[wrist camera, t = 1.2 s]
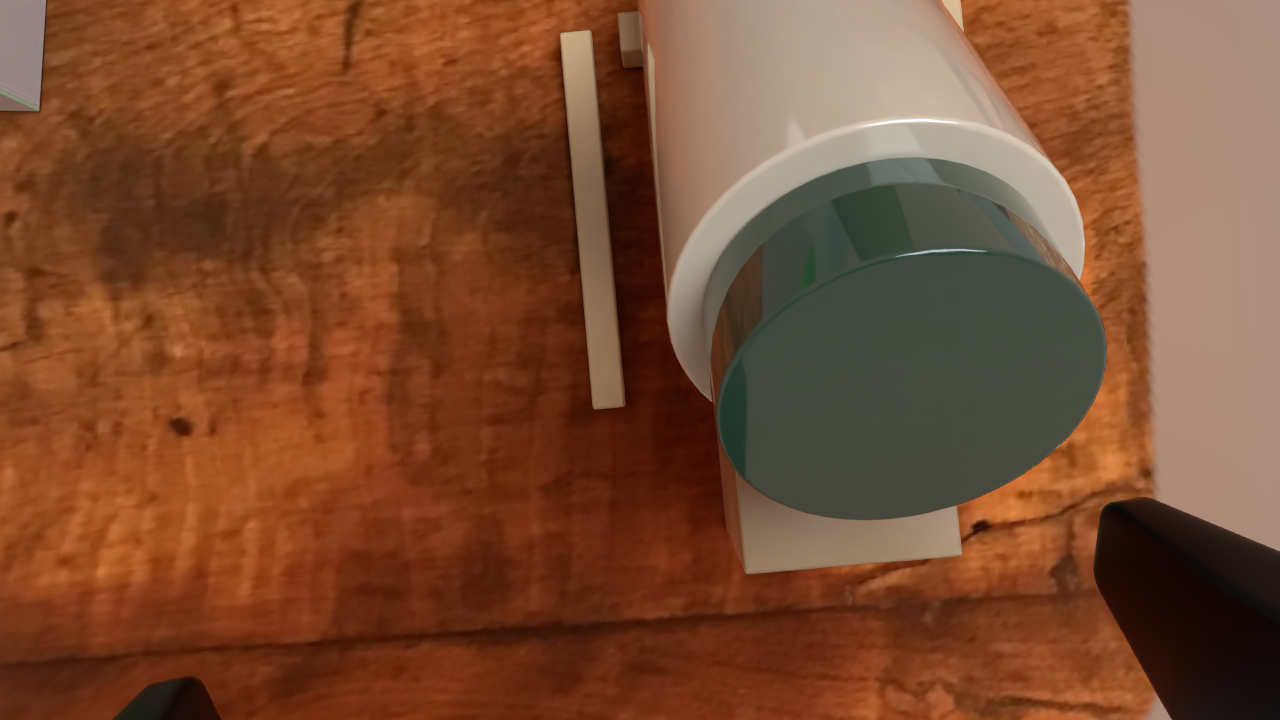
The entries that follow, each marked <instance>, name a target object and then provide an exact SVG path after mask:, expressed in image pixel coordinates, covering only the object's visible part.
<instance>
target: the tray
mask: <svg viewBox="0 0 1280 720" xmlns="http://www.w3.org/2000/svg"><path fill="white" fill-rule="evenodd" d="M45 11H46V0H0V111H39V107H40V91H41V75H42V59H43V43H44V27H45Z"/></svg>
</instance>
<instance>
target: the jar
mask: <svg viewBox="0 0 1280 720" xmlns="http://www.w3.org/2000/svg"><path fill="white" fill-rule="evenodd" d="M637 9H638V24H639V35H640V45H641V56H642V66H643V77H644V87H645V98H646V108H647V118H648V129H649V139H650V150H651V160H652V171H653V181H654V192H655V202H656V213H657V223H658V234H659V244H660V255H661V265H662V276H663V286H664V297H665V307H666V318H667V325H668V330H669V336H670V341H671V344H672V346H673V349H674V352H675V355H676V357H677V359H678V361H679V363H680V365H681V366H682V368H683V370H684V372H685V373H686V375H687V376H688V377H689V379H690V380H691V381H692V382H693V384H694V385H695V386H696V387H697V388H698V390H699V391H700V392H701V393H702V394H703V395H704V396H705V397H707V398H708V399H709V400H710V401H711V402H712V404H713V411H714V419H715V425H716V432H717V437H718V439H719V442H720V445H721V448H722V451H723V452H724V454H725V456H726V457H727V459H728V461H729V463H730V464H731V465H732V467H733V468H734V469H735V470H736V471H737V473H738V474H739V475H740V476H741V477H742V478H743V480H745V481H746V482H747V483H748V484H749V485H751V486H752V487H753V488H754V489H755V490H757V491H758V492H760V493H761V494H763V495H765V496H766V497H768V498H769V499H771V500H773V501H775V502H778V503H780V504H782V505H784V506H786V507H789V508H792V509H795V510H798V511H801V512H804V513H808V514H813V515H817V516H822V517H828V518H836V519H845V520H885V519H895V518H903V517H911V516H916V515H921V514H926V513H931V512H935V511H939V510H942V509H946V508H949V507H953V506H956V505H959V504H962V503H964V502H967V501H970V500H973V499H975V498H978V497H980V496H982V495H985V494H987V493H989V492H991V491H993V490H996V489H998V488H1000V487H1002V486H1003V485H1005V484H1007V483H1009V482H1011V481H1012V480H1014V479H1016V478H1018V477H1019V476H1021V475H1022V474H1024V473H1025V472H1027V471H1028V470H1030V469H1031V468H1033V467H1035V466H1036V465H1037V464H1039V463H1040V462H1041V461H1042V460H1044V459H1045V458H1046V457H1047V456H1049V455H1050V454H1051V453H1052V452H1054V451H1055V450H1056V449H1057V448H1058V447H1059V446H1060V445H1061V444H1062V443H1063V442H1064V441H1065V440H1066V439H1067V438H1068V437H1069V436H1070V435H1071V433H1072V432H1073V431H1074V430H1075V429H1076V427H1077V426H1078V425H1079V424H1080V422H1081V421H1082V420H1083V418H1084V417H1085V415H1086V414H1087V412H1088V410H1089V409H1090V407H1091V406H1092V404H1093V402H1094V400H1095V398H1096V395H1097V393H1098V391H1099V389H1100V386H1101V383H1102V379H1103V375H1104V372H1105V366H1106V354H1107V345H1106V336H1105V329H1104V326H1103V323H1102V320H1101V317H1100V315H1099V312H1098V311H1097V309H1096V307H1095V306H1094V304H1093V302H1092V301H1091V299H1090V297H1089V296H1088V294H1087V292H1086V291H1085V289H1084V288H1083V286H1082V284H1081V283H1080V278H1081V274H1082V269H1083V265H1084V249H1085V235H1084V228H1083V220H1082V216H1081V213H1080V210H1079V207H1078V204H1077V201H1076V198H1075V196H1074V194H1073V192H1072V191H1071V189H1070V187H1069V185H1068V183H1067V182H1066V180H1065V178H1064V177H1063V175H1062V174H1061V172H1060V171H1059V170H1058V168H1057V167H1056V165H1055V164H1054V162H1053V161H1052V159H1051V158H1050V157H1049V155H1048V154H1047V152H1046V151H1045V149H1044V148H1043V146H1042V145H1041V143H1040V142H1039V141H1038V139H1037V138H1036V136H1035V135H1034V133H1033V132H1032V130H1031V129H1030V128H1029V126H1028V125H1027V123H1026V122H1025V120H1024V119H1023V117H1022V116H1021V115H1020V113H1019V112H1018V110H1017V109H1016V107H1015V106H1014V104H1013V103H1012V102H1011V100H1010V99H1009V97H1008V96H1007V94H1006V93H1005V91H1004V90H1003V89H1002V87H1001V86H1000V84H999V83H998V81H997V80H996V78H995V77H994V76H993V74H992V73H991V71H990V70H989V68H988V67H987V65H986V64H985V63H984V61H983V60H982V58H981V57H980V55H979V54H978V52H977V51H976V50H975V48H974V47H973V45H972V44H971V42H970V41H969V39H968V38H967V37H966V35H965V34H964V32H963V31H962V29H961V28H960V26H959V25H958V23H957V22H956V21H955V19H954V18H953V16H952V15H951V13H950V12H949V10H948V9H947V8H946V6H945V5H944V3H943V2H942V0H637Z"/></svg>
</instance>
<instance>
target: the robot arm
mask: <svg viewBox="0 0 1280 720" xmlns="http://www.w3.org/2000/svg"><path fill="white" fill-rule="evenodd" d="M1093 569H1094V577H1095V581H1096V584H1097V586H1098V589H1099V591H1100V593H1101V595H1102V597H1103V598H1104V600H1105V602H1106V604H1107V606H1108V607H1109V609H1110V611H1111V613H1112V614H1113V616H1114V618H1115V620H1116V622H1117V623H1118V625H1119V627H1120V629H1121V631H1122V632H1123V634H1124V636H1125V638H1126V640H1127V641H1128V643H1129V645H1130V647H1131V649H1132V650H1133V652H1134V654H1135V656H1136V658H1137V659H1138V661H1139V663H1140V665H1141V667H1142V668H1143V670H1144V672H1145V674H1146V675H1147V677H1148V679H1149V681H1150V683H1151V684H1152V686H1153V688H1154V690H1155V692H1156V693H1157V695H1158V697H1159V699H1160V701H1161V702H1162V704H1163V706H1164V707H1165V709H1166V711H1167V712H1168V714H1169V716H1170V717H1171V719H1172V720H1280V551H1277V550H1275V549H1272V548H1270V547H1268V546H1265V545H1263V544H1260V543H1258V542H1255V541H1253V540H1251V539H1248V538H1246V537H1243V536H1241V535H1238V534H1236V533H1234V532H1231V531H1229V530H1227V529H1224V528H1222V527H1219V526H1217V525H1214V524H1212V523H1210V522H1207V521H1205V520H1202V519H1200V518H1198V517H1195V516H1193V515H1190V514H1188V513H1185V512H1183V511H1180V510H1178V509H1176V508H1173V507H1171V506H1169V505H1166V504H1164V503H1161V502H1159V501H1156V500H1154V499H1151V498H1147V497H1138V498H1133V499H1127V500H1122V501H1117V502H1112V503H1109V504H1107V505H1106V506H1105V507H1104V508H1103V510H1102V511H1101V515H1100V520H1099V528H1098V535H1097V542H1096V550H1095V557H1094V568H1093ZM112 720H221V718H220V716H219V714H218V712H217V710H216V708H215V706H214V704H213V702H212V700H211V698H210V696H209V694H208V692H207V689H206V687H205V686H204V684H203V682H202V681H201V680H200V679H199V678H198V677H195V676H190V675H189V676H182V677H177V678H172V679H166V680H161V681H157V682H154V683H151V684H150V685H148V686H147V687H146V688H144V689H143V690H142V691H141V692H140V693H139V694H138V695H137V696H136V697H135V698H134V699H133V700H132V701H131V702H130V703H129V704H127V705H126V706H125V707H124V708H123V709H122V710H121V711H120V712H119V713H118V714H117V715H116V716H115V717H114V718H113V719H112Z"/></svg>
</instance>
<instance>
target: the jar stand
mask: <svg viewBox="0 0 1280 720" xmlns="http://www.w3.org/2000/svg"><path fill="white" fill-rule="evenodd" d="M942 2H943V3H944V5H945V6H946V8H947V9H948V10H949V12H950V13H951V15H952V16H953V18H954V19H955V21H956V22H957V23H958V25H959V26H960V28H961V29H962V31H963V32H964V28H963V19H962V11H961V2H960V0H942ZM617 17H618V28H619V39H620V50H621V57H622V64H623V67H624V68H633V67H643V66H642V56H641V45H640V35H639V24H638V11H631V12H622V13H618V16H617ZM560 43H561V55H562V66H563V77H564V89H565V100H566V111H567V123H568V134H569V145H570V157H571V168H572V179H573V190H574V202H575V213H576V224H577V236H578V247H579V258H580V270H581V281H582V292H583V303H584V315H585V326H586V337H587V349H588V360H589V371H590V383H591V394H592V405H593V408H594V409H607V408H618V407H624V406H625V405H626V400H625V389H624V378H623V366H622V355H621V344H620V333H619V322H618V311H617V300H616V289H615V278H614V267H613V256H612V245H611V234H610V223H609V211H608V200H607V189H606V178H605V167H604V156H603V145H602V134H601V123H600V112H599V101H598V90H597V79H596V68H595V57H594V45H593V38H592V33H591V31H590V30H585V31H576V32H566V33H561V34H560ZM717 440H718V450H719V460H720V471H721V481H722V492H723V502H724V513H725V523H726V530H727V532H728V534H729V537H730V539H731V541H732V544H733V546H734V548H735V551H736V553H737V555H738V558H739V560H740V562H741V565H742V567H743V569H744V571H745V573H746V574H757V573H769V572H780V571H792V570H804V569H816V568H827V567H839V566H851V565H862V564H874V563H886V562H897V561H909V560H921V559H933V558H944V557H956V556H960V555H962V547H961V538H960V529H959V520H958V511H957V505H956V506H953V507H949V508H946V509H942V510H939V511H935V512H931V513H926V514H921V515H916V516H911V517H903V518H895V519H885V520H845V519H836V518H828V517H822V516H817V515H813V514H808V513H804V512H801V511H798V510H795V509H792V508H789V507H786V506H784V505H782V504H780V503H778V502H775V501H773V500H771V499H769V498H768V497H766V496H765V495H763V494H761V493H760V492H758V491H757V490H755V489H754V488H753V487H752V486H751V485H749V484H748V483H747V482H746V481H745V480H743V478H742V477H741V476H740V475H739V474H738V473H737V471H736V470H735V469H734V468H733V467H732V465H731V464H730V463H729V461H728V459H727V457H726V456H725V454H724V452H723V451H722V448H721V445H720V442H719V439H718V437H717Z"/></svg>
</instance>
